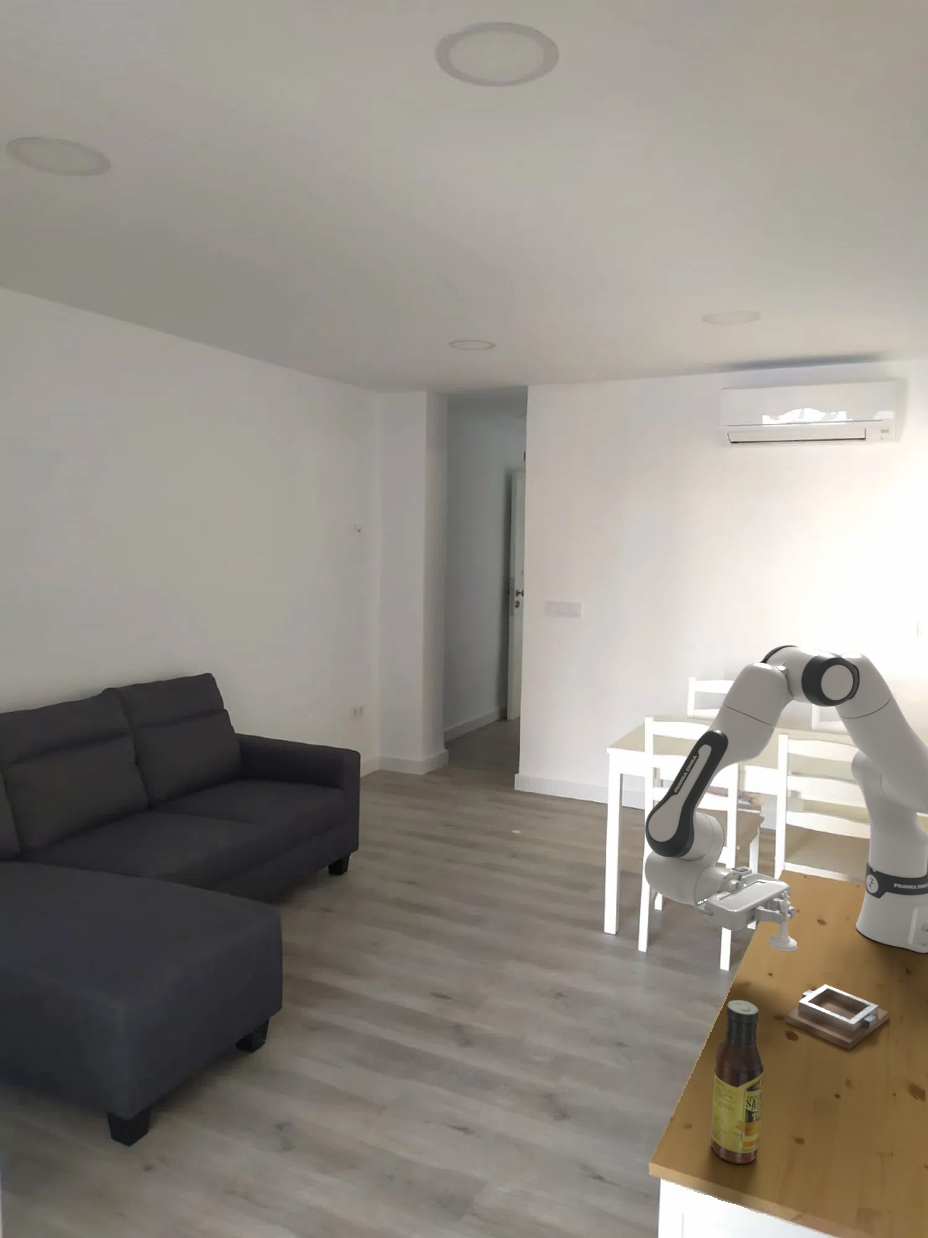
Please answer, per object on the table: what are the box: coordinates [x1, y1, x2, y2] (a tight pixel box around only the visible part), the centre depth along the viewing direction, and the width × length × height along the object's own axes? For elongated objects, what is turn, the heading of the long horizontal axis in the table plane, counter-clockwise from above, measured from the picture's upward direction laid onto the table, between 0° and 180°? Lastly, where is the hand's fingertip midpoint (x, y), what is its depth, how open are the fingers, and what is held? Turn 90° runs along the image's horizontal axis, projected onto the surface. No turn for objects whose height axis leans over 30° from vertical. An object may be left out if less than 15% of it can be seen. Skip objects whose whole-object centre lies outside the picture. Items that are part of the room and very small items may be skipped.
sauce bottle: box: [710, 999, 765, 1165], centre depth 119 cm, size 6×6×20 cm
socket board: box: [785, 998, 890, 1050], centre depth 153 cm, size 11×15×1 cm
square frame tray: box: [797, 983, 879, 1035], centre depth 153 cm, size 12×10×2 cm
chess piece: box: [768, 891, 798, 952], centre depth 160 cm, size 5×5×10 cm
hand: (789, 916), depth 160 cm, fingers closed on chess piece, 2 cm apart
